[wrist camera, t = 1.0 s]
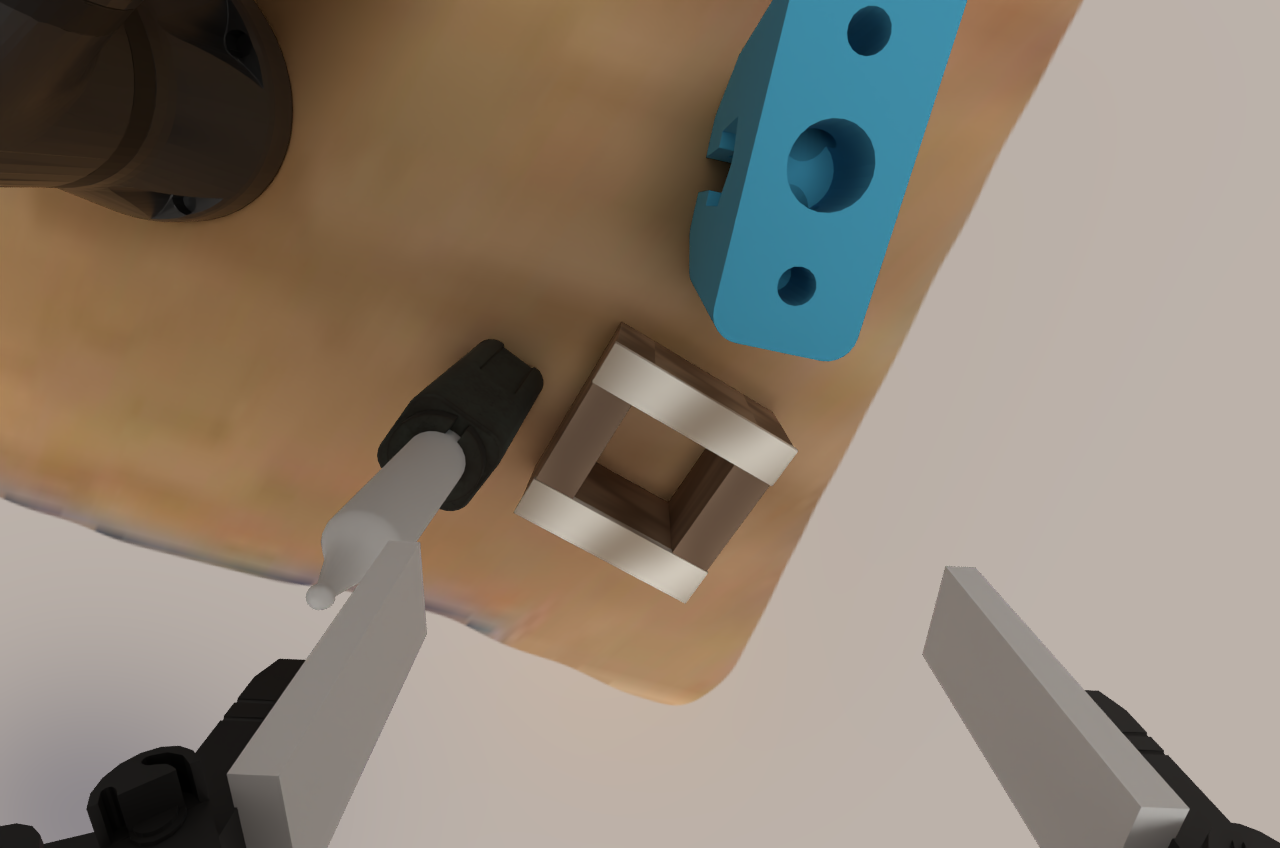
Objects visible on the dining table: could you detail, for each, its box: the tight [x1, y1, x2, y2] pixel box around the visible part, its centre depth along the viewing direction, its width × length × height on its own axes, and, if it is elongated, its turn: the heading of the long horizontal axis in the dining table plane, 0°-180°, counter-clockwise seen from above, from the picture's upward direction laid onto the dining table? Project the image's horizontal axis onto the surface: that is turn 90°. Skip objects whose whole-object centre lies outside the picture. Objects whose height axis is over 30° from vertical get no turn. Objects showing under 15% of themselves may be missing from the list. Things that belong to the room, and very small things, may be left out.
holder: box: [514, 322, 798, 603], centre depth 41 cm, size 12×12×7 cm
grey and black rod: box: [306, 339, 543, 610], centre depth 31 cm, size 5×5×25 cm
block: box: [689, 0, 967, 361], centre depth 29 cm, size 12×5×20 cm, turn 168°
